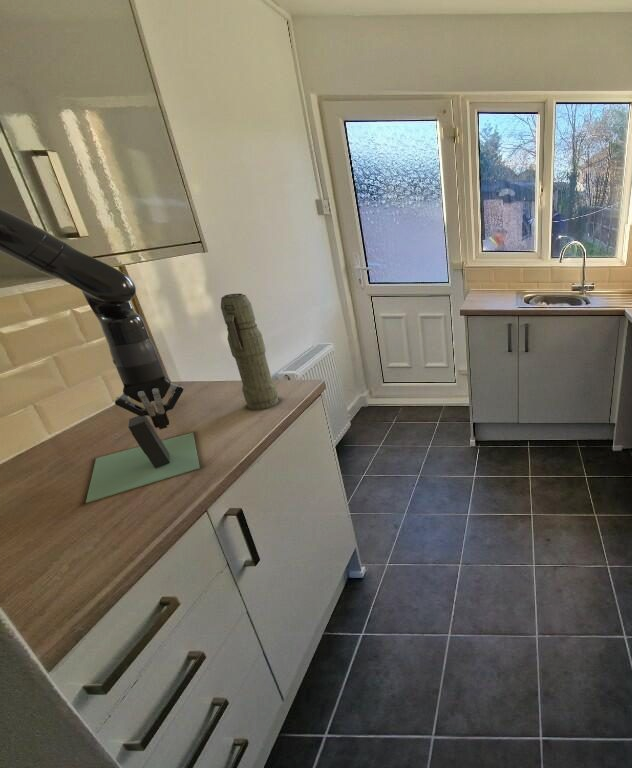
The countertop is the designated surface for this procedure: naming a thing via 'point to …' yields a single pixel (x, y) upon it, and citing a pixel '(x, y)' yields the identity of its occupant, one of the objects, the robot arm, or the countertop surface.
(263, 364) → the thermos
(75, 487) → the countertop surface
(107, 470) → the mat
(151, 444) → the dark grey tall block
